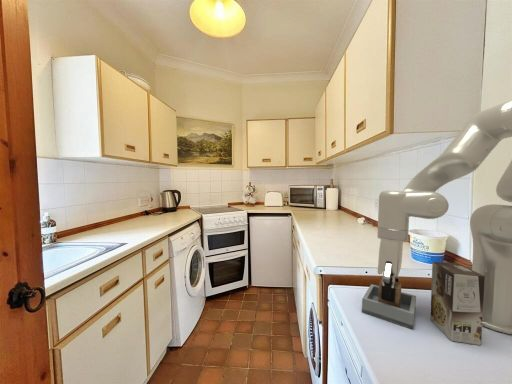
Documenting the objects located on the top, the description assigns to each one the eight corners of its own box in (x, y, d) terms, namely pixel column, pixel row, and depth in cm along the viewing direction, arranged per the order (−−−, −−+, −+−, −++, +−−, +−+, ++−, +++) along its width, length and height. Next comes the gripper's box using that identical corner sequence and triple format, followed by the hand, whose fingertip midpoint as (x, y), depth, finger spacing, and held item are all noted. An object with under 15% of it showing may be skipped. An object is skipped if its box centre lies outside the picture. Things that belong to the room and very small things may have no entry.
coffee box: (482, 346, 51) (487, 276, 51) (450, 341, 52) (454, 273, 52) (456, 322, 60) (459, 262, 60) (428, 318, 61) (431, 260, 61)
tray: (415, 309, 66) (416, 295, 66) (413, 329, 56) (413, 314, 56) (370, 296, 73) (371, 284, 73) (361, 312, 64) (362, 298, 64)
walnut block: (400, 306, 65) (401, 282, 65) (398, 314, 61) (399, 288, 61) (381, 300, 68) (382, 277, 68) (377, 307, 64) (378, 283, 64)
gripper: (382, 227, 73) (380, 281, 74) (371, 237, 60) (369, 303, 60) (410, 231, 69) (407, 288, 69) (405, 242, 55) (402, 313, 56)
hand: (389, 294), depth 65 cm, fingers open, 6 cm apart
